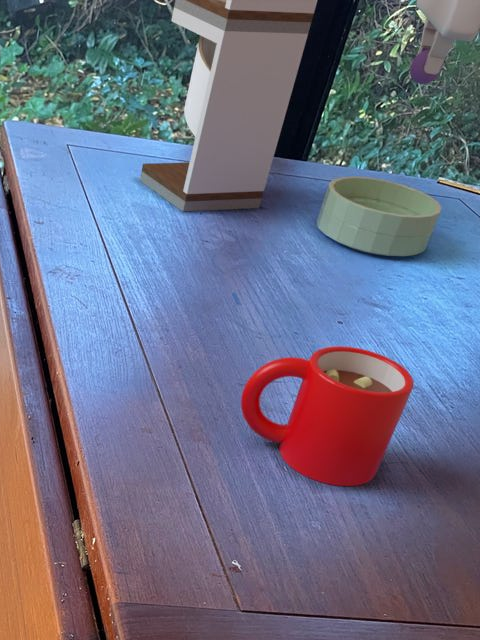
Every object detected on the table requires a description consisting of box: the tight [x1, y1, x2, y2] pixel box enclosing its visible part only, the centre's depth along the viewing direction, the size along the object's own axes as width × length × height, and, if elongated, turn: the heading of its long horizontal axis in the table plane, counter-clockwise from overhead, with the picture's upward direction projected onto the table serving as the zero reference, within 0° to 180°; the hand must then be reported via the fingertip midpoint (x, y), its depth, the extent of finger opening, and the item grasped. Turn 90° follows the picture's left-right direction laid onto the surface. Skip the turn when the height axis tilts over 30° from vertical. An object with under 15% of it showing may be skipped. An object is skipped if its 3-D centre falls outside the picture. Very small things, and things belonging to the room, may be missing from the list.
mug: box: [240, 345, 414, 487], centre depth 78 cm, size 8×12×8 cm, turn 77°
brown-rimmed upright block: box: [139, 0, 318, 212], centre depth 114 cm, size 11×11×35 cm
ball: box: [409, 50, 443, 85], centre depth 120 cm, size 4×4×4 cm
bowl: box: [316, 175, 443, 257], centre depth 120 cm, size 13×13×5 cm
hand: (426, 67), depth 120 cm, fingers closed on ball, 3 cm apart
